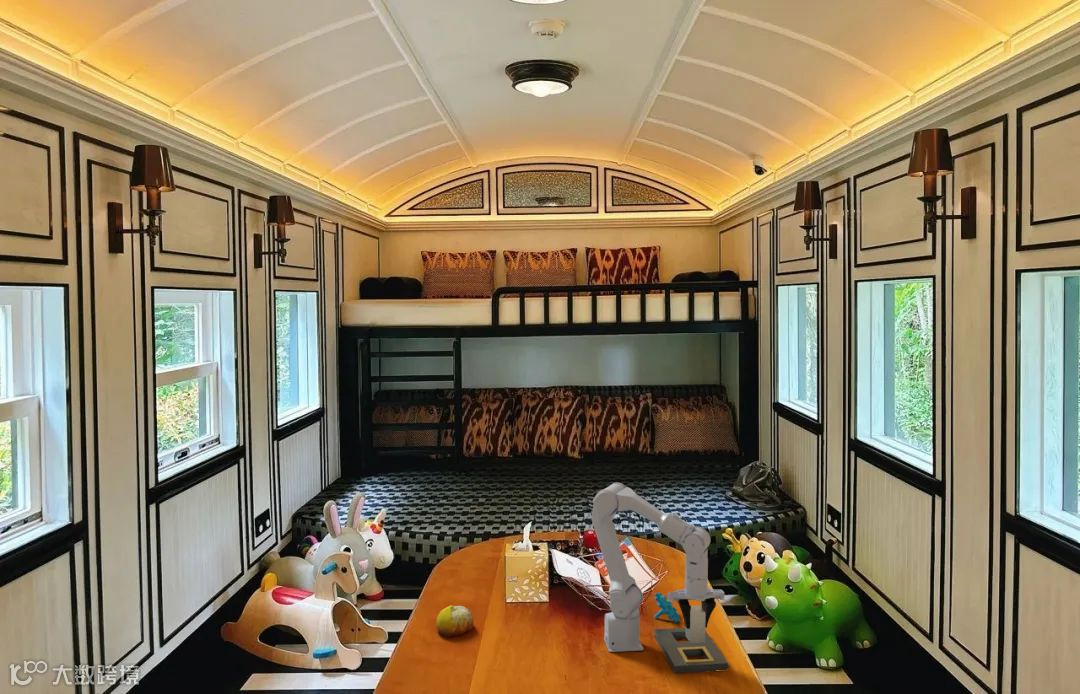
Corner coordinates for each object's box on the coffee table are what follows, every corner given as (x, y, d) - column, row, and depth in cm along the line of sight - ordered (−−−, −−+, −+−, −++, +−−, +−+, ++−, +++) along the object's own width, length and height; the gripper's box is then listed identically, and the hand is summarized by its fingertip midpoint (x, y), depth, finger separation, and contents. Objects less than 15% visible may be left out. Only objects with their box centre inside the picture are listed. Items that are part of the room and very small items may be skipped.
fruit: (466, 640, 195) (458, 612, 195) (434, 645, 198) (426, 618, 198) (482, 621, 205) (474, 595, 206) (451, 626, 209) (443, 601, 209)
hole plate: (674, 673, 178) (674, 665, 177) (654, 636, 197) (654, 628, 197) (728, 670, 179) (728, 662, 179) (702, 633, 199) (702, 626, 199)
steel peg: (690, 642, 181) (690, 612, 181) (685, 635, 185) (685, 606, 185) (705, 642, 181) (705, 612, 181) (700, 634, 185) (700, 605, 185)
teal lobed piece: (678, 624, 201) (655, 595, 204) (663, 636, 202) (640, 608, 205) (684, 613, 212) (662, 586, 214) (670, 625, 213) (648, 598, 216)
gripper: (673, 583, 177) (673, 635, 178) (729, 580, 178) (728, 632, 179) (665, 572, 184) (665, 622, 185) (719, 570, 185) (718, 619, 186)
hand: (695, 626), depth 183 cm, fingers closed on steel peg, 4 cm apart
